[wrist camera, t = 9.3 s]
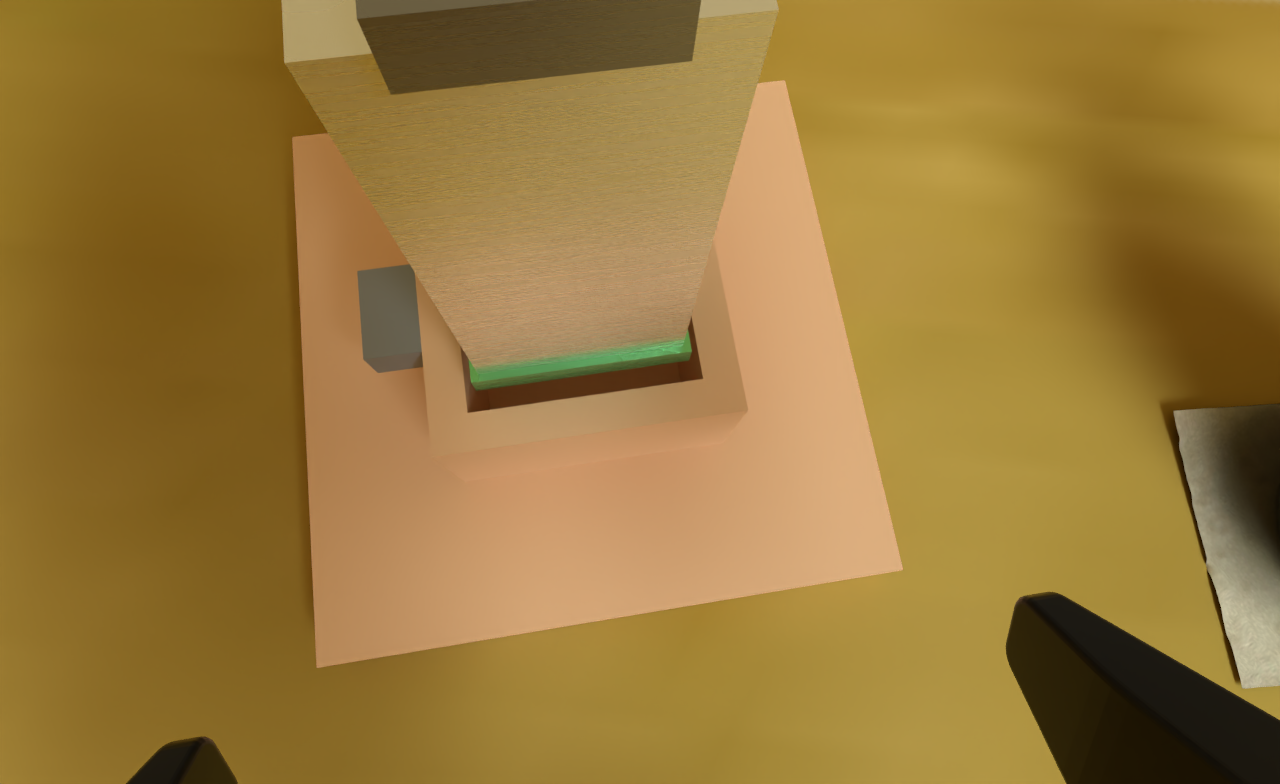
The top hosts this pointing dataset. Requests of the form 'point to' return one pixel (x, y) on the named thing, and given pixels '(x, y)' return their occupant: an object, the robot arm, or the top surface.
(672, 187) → the column
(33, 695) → the top surface
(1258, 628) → the condiment
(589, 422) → the stand
